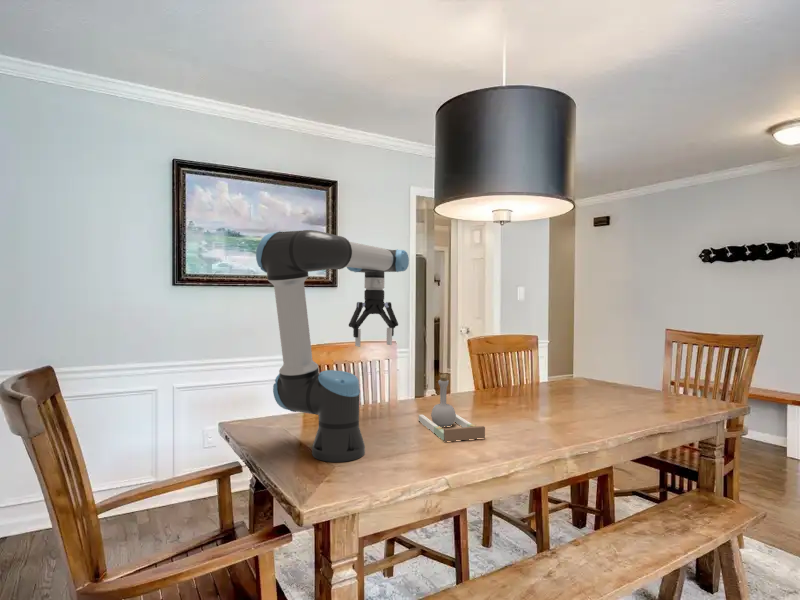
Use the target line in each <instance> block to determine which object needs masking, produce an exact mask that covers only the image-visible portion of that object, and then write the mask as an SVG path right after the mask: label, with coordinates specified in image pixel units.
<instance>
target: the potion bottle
mask: <svg viewBox="0 0 800 600" xmlns="http://www.w3.org/2000/svg"><path fill="white" fill-rule="evenodd" d="M439 376H440V379H439V380H438V381H437V383H438V385H439V387H440V389H439V390H440V395H439V396H440V397H439V399H440V400H439V403H437V404H434V406H433V407H432V409H431V413H430V414H431V415H430V416H431V421H432V422H434V423H435V424H436V425H438V426H440V427H444V426H445V427H447V426H451V425H452V424H453V425H454V424H455V423H454V422H455V418H456V414H457V413H456V410H455V408H454V407H453V405H452V404H448V403H447V387H448V385H449V381H450V380H449V379H448V375H447V374H446V373H443V374H440V375H439Z"/></svg>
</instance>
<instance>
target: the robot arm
mask: <svg viewBox="0 0 800 600" xmlns="http://www.w3.org/2000/svg"><path fill="white" fill-rule="evenodd" d="M255 259H256V264H257V266H258V267H259V268H260V270H262V271H263V272H264V273H266V277H267V281H268V282H269V284H272V285H273V289H274V297H275V305H276V313H277V321H278V329H279V330H278V331H279V336H280V337H279V338H280V347H281V355H282V361H283V365H282V366H281V367H280V368H279V370H278V372H279V373H278V375H277V376H276V377H275V379H274V382H275V383H274V384H273V386H272V392H273V398H274V400H275V402H276V404H277V405H278V406H279V407H280V408H282V409H284V410H286V411H287V410H288V411H291V412H292V413H303V414H311V415H317V416H318V428H317V431H316V434H315V438H314V441H313V443H312V448H311V454H312V457H313V458H315V459H317V460H318V461H322V462H330V463H342V462H350V461H354V460H358V459H360V458H362V457H363V456H364V455H365V453H366V450H365V448H366V446H365V441H364V439H363V438H364V437H363V436H362V433H361V428H360V394H361V390H360V382H359V378H358V377H357V375H355V374H353V373H352V372H347V371H343V370H334V369H331V370H330V369H328V370H322V371H320V370H319V369H320V368H319V364H318V363H316V362H315V361H314V360H313V353H312V344H311V336H310V326H309V316H308V308H307V298H306V291H305V281H306V280H307V279H308V278H309V272H310V273H311V272H316V271H317V272H318V271H325V270H343V269H344V268H347V270H349V271H350V272H354V273H364V289H365V290H364V302H362V301H357V302H356V308H355V310H354V312H353V315H352V316H351V318H350V321H349V323H348V327H349V328H352V330H353V335H352V336H353V338H355V344H354V346H355V347H358V348H359V347H360V348H361V334H362V331H361V330H362V329H361V328H360V327H361V325H362V324H363V323H364V321H365V320H366V319H367V317H368V316H370V315H379V316H380V317H381V319H382V320H383V321H384V322H385V324H386V325H387V326H388V327H386V345H387V346H388V345H389V346H392V345H393V337H394V333H395V332H394V330H395V328H396V327H398V326H399V323H398V320H397V317H396V315H395V313H394V310H393V308H392V302H390V301H386V302H385V290H384V288H385V273H389V272H390V273H395V272H396V273H399V272H400V273H401V272H405V271H406V270H408V267H409V263H410V262H409V261H410V258H409V254H408V252H407V251H406V250H405V249H387V248H383V247H379V246H373V245H368V244H363V243H357V242H352V241H349V239H347V238H346V237H344V236H341V235H337V234H333V233H328V232H323V231H319V230H314V229H313V230H312V229H303V230H290V231H289V230H288V231H286V230H285V231H281V230H279V231H275V232H271V233H270V232H269V233H267V234H265V235H264V236H263V237H262V238H261V240H260V241H259V243H258V244H257V247H256V251H255ZM363 308H364V310H363ZM384 308H385V310H386V311H385V310H384ZM362 310H363V311H362ZM361 312H362V313H361ZM360 314H361V315H360Z"/></svg>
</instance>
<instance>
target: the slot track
mask: <svg viewBox="0 0 800 600" xmlns="http://www.w3.org/2000/svg"><path fill="white" fill-rule="evenodd" d="M455 414H456V418H455V422H456V423H457V424H459V425H461V426H462V427H449V428H442V427H439V426H438V425H436V424H435V423H434V422H433V421H432V419H429V418H428V417H427V416H425V415H424V414H418V422H419V421H420V422H421V423H422V424H421V423H420V422H419V423H420V424H421V425H422V426H423V427H425V426H426V427H427V428H426V427H425V428H426V429H428V430H429V429H430V430H431V431H432V432H433V433H432V432H431V431H430V430H429V431H430V432H431V433H432V434H434V433H435V434H436V435H437V436H438V437H437V436H436V435H435V434H434V435H435V436H436V437H437V438H439V437H440V438H441V439H442V440H444V441H445V442H447V441H456V440H469V439H477V438H485V439H486V426H485V425H477V424H473V423H472V422H469V421H468V420H467V419H465V418H463V417H461V416H460V415H458V414H457V413H455ZM456 423H455V424H456ZM457 424H456V425H457ZM459 425H458V426H459ZM440 438H439V439H440ZM441 439H440V440H441ZM442 440H441V441H442ZM444 441H443V442H444ZM445 442H444V443H445ZM447 443H448V442H447Z"/></svg>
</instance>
